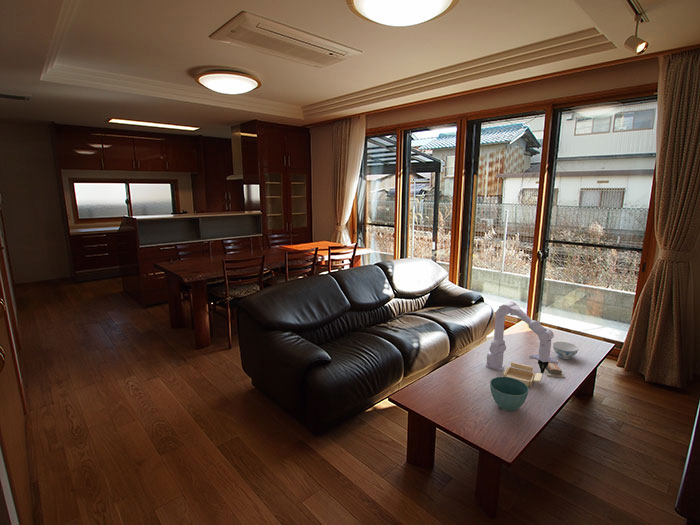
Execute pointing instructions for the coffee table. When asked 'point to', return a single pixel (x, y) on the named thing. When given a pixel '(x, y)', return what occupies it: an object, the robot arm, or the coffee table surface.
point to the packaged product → (553, 371)
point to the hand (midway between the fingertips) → (542, 372)
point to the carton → (520, 375)
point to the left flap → (522, 366)
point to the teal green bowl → (508, 392)
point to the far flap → (538, 377)
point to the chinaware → (565, 349)
